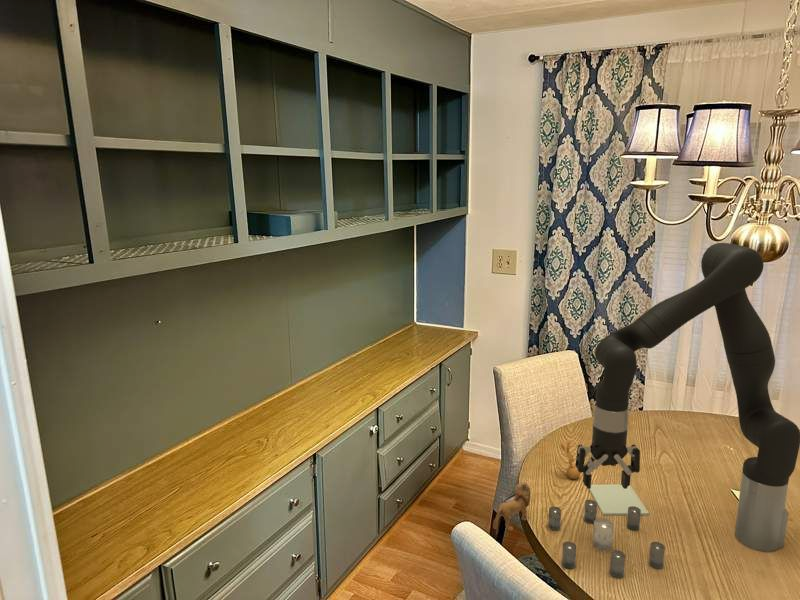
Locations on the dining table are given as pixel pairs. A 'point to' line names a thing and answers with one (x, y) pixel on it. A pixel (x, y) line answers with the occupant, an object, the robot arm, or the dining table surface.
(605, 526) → the clear rounded cylinder
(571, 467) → the figurine
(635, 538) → the dining table surface
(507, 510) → the lion figurine
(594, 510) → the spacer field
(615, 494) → the sage mat
